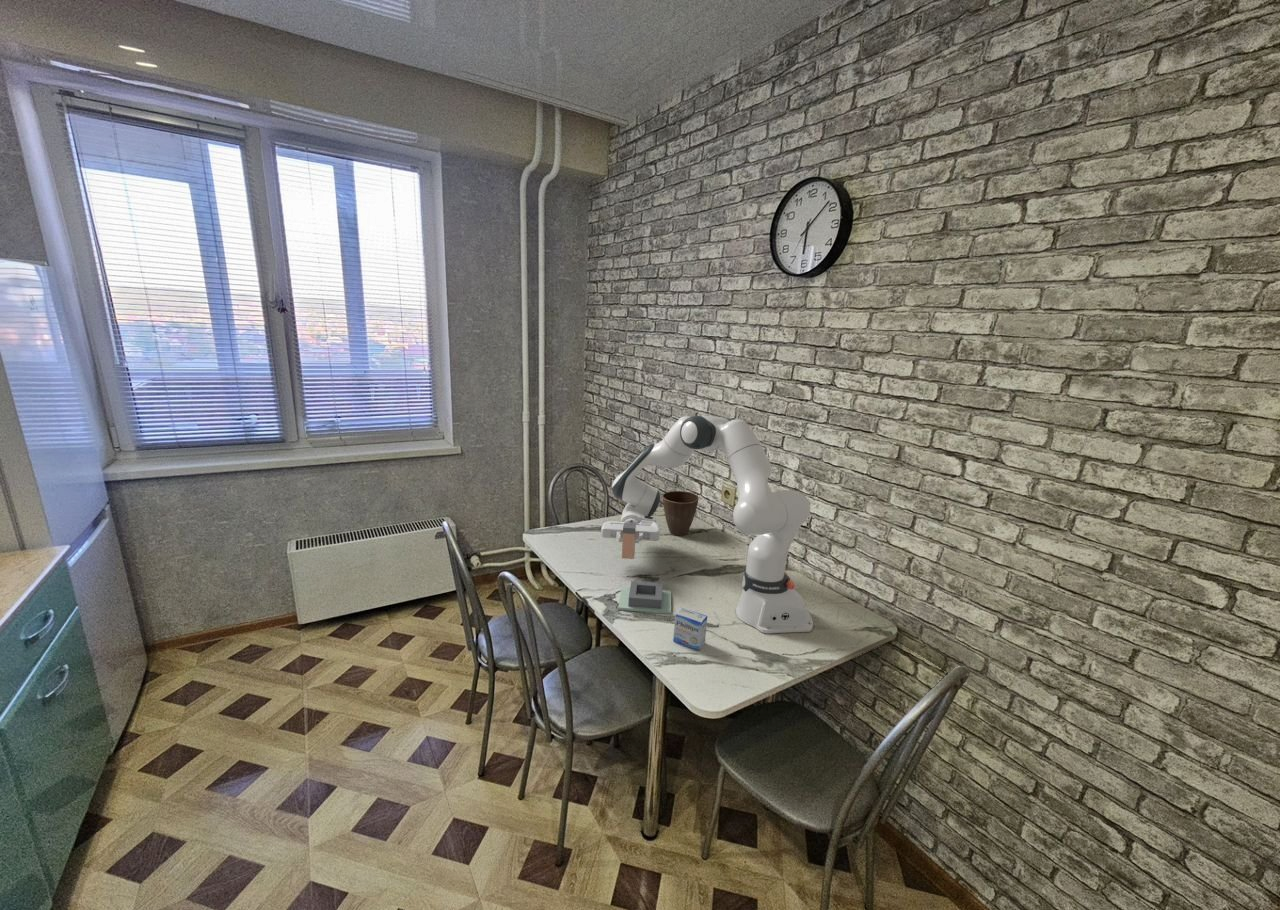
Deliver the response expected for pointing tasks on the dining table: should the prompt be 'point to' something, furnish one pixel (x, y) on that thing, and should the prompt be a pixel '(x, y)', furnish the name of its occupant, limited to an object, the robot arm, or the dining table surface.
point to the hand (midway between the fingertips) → (628, 540)
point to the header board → (664, 602)
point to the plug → (628, 541)
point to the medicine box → (690, 628)
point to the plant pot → (679, 511)
